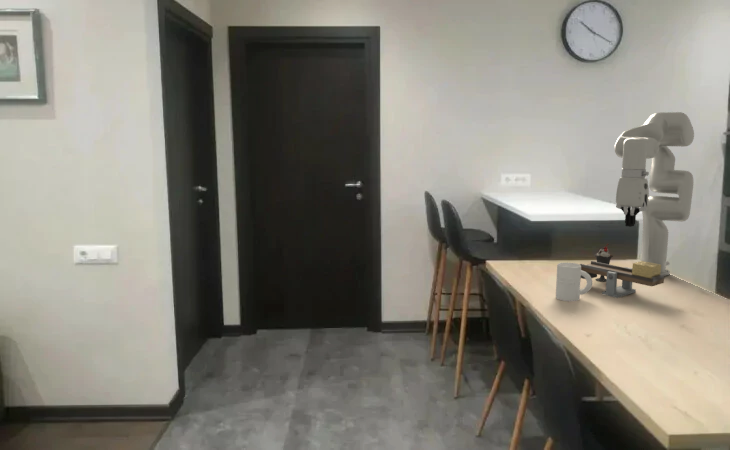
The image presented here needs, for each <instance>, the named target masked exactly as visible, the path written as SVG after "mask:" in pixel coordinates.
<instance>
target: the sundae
mask: <svg viewBox="0 0 730 450" xmlns="http://www.w3.org/2000/svg"><path fill="white" fill-rule="evenodd" d="M608 245H609V243H607V244H606V246H604V247H601V248H599V249H598V252H597V253H594V257H596V262H600V263H605V264H609V265H610V262H611V259H612V258H613V257H614V255H612V254H610V251H609V249H608ZM605 277H606V276H602V275H599V277H598V278H597V277H596V278H595V281H597V282H602V283H606V281H607V278H605Z"/></svg>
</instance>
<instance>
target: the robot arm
mask: <svg viewBox="0 0 730 450" xmlns="http://www.w3.org/2000/svg"><path fill="white" fill-rule="evenodd" d="M692 124H693V123H692V122H691V120H690V117H689V116H688V115H687V114H685V113H684V112H682V111H681V112H679V111H677V112H673V111H671V112H666V111H665V112H656V113H653V114H651V115H649V117H648V118H647V119H646V120H645V122H644V123H643V124H642V125H639V126H638V125H637V126H636V127H634V128H630V129H627V130H624V131H623V132H622V133H621V134H620V135H619V136H618V138H617V140H616V142H615V144H614V153H615V155H616V156H617V157H619V158H622V162H621V164H622V165H621V176H620V177H619V179H618V183H617V188H616V194H615V195H616V196H615V203H616V205H615V207H616V208H617V209H619V210H621V211H622V212H623V214H624V215H625V217H624V223H625V227H635V225H636V217H637V215H638V214H639V213H640V212H642V233H641V234H642V236H641V252H640V261H645V262H650V263H655V264H660V265H661V274H663V275H664V277H666V276H669V275H670V273H671V272H670V270H669V269H667V267H668V266H669V265H670V262H669V261H668V260H667V256H668V243H669V242H668V241H669V229H668V227H667V225H666V224H665V223H664V222H665V221H667V222H686V221H688V219H689V217H690V214H691V209H692V199H693V191H694V176H693V174H692V172H690V171H689V170H683V169H680V170H679V169H675V165H676V157H675V155H674V153H673V152H672V150H671V149H670V148H669V147H681V148H682V147H688V146H690V145H691V144H692V143H693V141H694V139H695V130H694V127H693V125H692ZM647 159H651V166H650V171H647V169H646V167H647ZM649 172H650V173H649ZM646 176H649V180H648V178H646ZM650 191H651V192H653V193H658V194H668V195H669V194H670V195H678V197H677V196H676V197H675V196H663V195H661V196H660V195H650V193H649V192H650ZM661 274H660V275H661Z"/></svg>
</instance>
